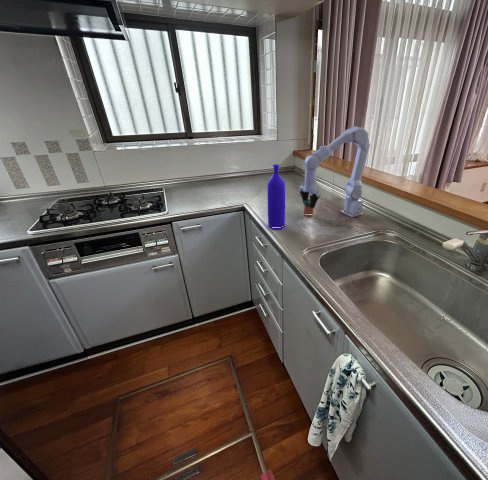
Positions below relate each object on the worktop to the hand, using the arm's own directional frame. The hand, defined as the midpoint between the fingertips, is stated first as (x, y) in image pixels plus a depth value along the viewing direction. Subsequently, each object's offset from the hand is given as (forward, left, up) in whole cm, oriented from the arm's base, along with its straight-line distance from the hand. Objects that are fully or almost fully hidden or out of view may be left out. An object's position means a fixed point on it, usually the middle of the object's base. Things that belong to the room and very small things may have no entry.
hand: (308, 205), depth 141 cm
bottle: (-3, +22, -6) cm, 23 cm away
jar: (0, 0, -5) cm, 5 cm away
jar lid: (0, 0, +2) cm, 2 cm away
